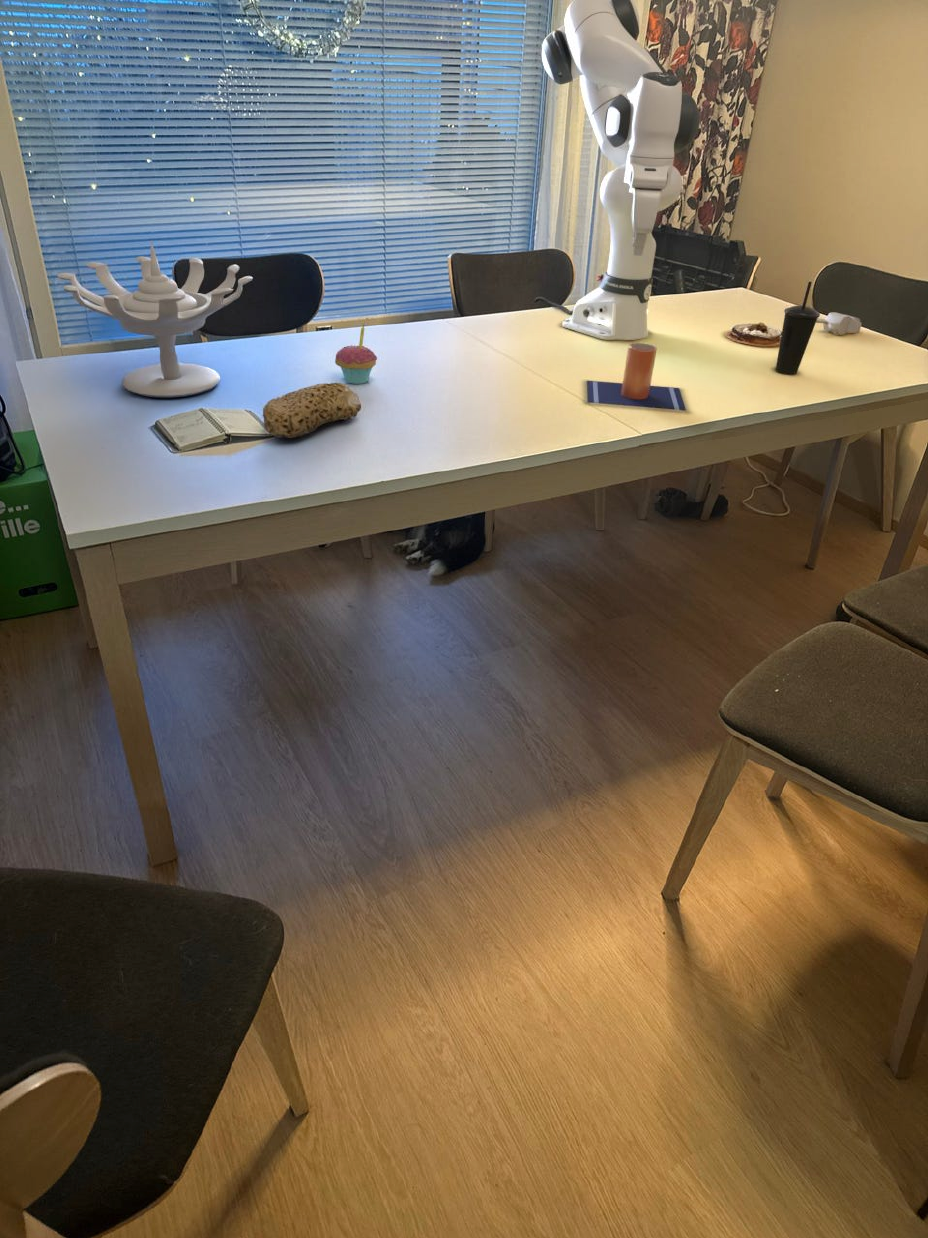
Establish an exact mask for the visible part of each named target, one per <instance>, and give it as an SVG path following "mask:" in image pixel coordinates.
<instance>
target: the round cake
mask: <svg viewBox="0 0 928 1238" xmlns="http://www.w3.org/2000/svg"><path fill="white" fill-rule="evenodd" d="M781 335H782V330H780V329H779V328H776V327H773V326H770V325H766V324H765V323H764V322H758V323H742V324H736V325H734V326H733V327H732V328H731V330H730V331H729V332H726V334H725V337H726V338H727V339H728V340H730V341H733V342H735V343H740V344H745V345H749V346H755V347H777V346H780V341H781Z"/></svg>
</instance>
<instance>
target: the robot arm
mask: <svg viewBox="0 0 928 1238" xmlns="http://www.w3.org/2000/svg"><path fill="white" fill-rule="evenodd" d="M639 35H640V16H639V11H638V9H637V7H636V5H635V4H634V2H633V1H632V0H572V1H571V3H570V4H569V6H568V7H567V10H566V12H565V16H564V24H562V25H561V26H560V27H559V28H557V29H553V30H552V31H551V32H550V33H549V34H548V35H547V36H546V37H545V38H544V40H543V41H542V44H541V60H542V64H543V68H544V70H545V72H546V73H547V75H548V77H550V78H551V79H552V80H553V82H554V83H555V84H557V85H565V84H568V83H571V82H573V81H574V80H575V79H577V78H579V84H580V90H581V96H582V100H583V103H584V107H585V111H586V113H587V117H588V119H589V122H590V125H591V128H592V130H593V133H594V135H595V138H596V142H597V144H598V146H599V148H600V151H601V152H602V154H603V156H604V157H605V158H606V159H608V160H609V161H610V162H611V163H612V164H613V166H615V169H613V170H611V171H609V172H608V173H607V174H606V175H605V176H604V178H603V180H602V182H601V184H600V188H599V197H600V202H601V205H602V207H603V208H604V210H605V211H606V213H607V217H608V222H609V231H610V243H609V244H610V245H609V254H608V262H607V271H606V272H604V273H602V274H600V275H598V276H596V278H597V279H596V282H599V284H598V286H597V287H596V288H595V289H592V291H590V292H588V293H587V294H585V295H584V296H583V297H579V300H577V302H576V303H575V305H574V307H573V309H572V310H569V309H568V308H567V307H565V306H563V305H561V304H558V303H555V302H553V301H550V300H548V299H547V298H546V297H543V296H538V297H535V298H534V300H533V302H536V303H537V302H538V301H542V302H544V303H545V304H547V305H549V306H551V307H554V308H557V309H560V310H562V311H564V312H565V313H566V314H568V315H571V316H570V317H567V318H565V319H564V320H563V321H562V325H561V326H562V327H563V328H566V329H569V330H572V331H574V332H578V333H581V334H584V335H588V336H589V337H590V336H591V337H593V338H597V339H600V340H604V341H613V340H619V341H620V340H621V341H624V340H625V341H633V340H634V341H635V340H642V339H645V338H647V337H649V329H648V313H649V309H648V307H649V301H650V298H651V293H652V288H653V287H652V285H653V276H652V274H653V268H654V262H655V257H656V252H657V251H656V250H657V242H656V240H655V237H654V236H653V230H654V227H655V224H656V219H657V214H658V213H659V212H662V211H664V210H665V209H668V208H669V207H670V206H672V205H673V204H674V203H675V202H677V201H678V199H679V197H680V195H681V192H682V188H683V179H682V175H681V173H680V171H679V170H678V168H677V167H675V166H674V161H675V154H679V153H682V151H683V150H685V149H686V148H688V146H689V145H691V143H692V142H693V141H694V140H695V138H696V137H697V135H698V132H699V129H700V124H701V114H700V109H699V107H698V104H697V102H696V100H695V99H694V97H693V96H692V95H691V94H690V93H687V92H685V91H683V85H682V80H681V79H680V78H679V77H678V76H676V75H674V74H671V73H668V71H667V70H666V69H665V68H664V66H663V65H662V64H661V62H660V61H659V60H658V59H657V58H656V56H655V55H654V54H653V53H652V52H650V51H649V50H648V49H647V48H645V47H644V46H643V45H642V44H641V43H639V42H638V38H639Z"/></svg>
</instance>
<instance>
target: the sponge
mask: <svg viewBox="0 0 928 1238" xmlns="http://www.w3.org/2000/svg"><path fill="white" fill-rule="evenodd" d="M361 409H362V403H361V400H360V397H359V396H358V394H357V393H355V392H354V391H353V390H352V389H351V388H349V387H348V386H347V384H344V383H341V382H330V383H324V382H323V383H318V384H317V383H316V384H314V385H310V386H307V387H303V388H299V389H297V390H293V391H291V392H288V393H286V394H284V395H281V397H280V396H277V397H275V398H271V399H270V400H269V401H267V403H266V404H265V405H264V406H263V408H262V417H263V426H264V428H265V430H266V431H267V432H268V434H270V435H272V436H275V437H278V438H285V439H294V438H299V437H303V436H304V435H307V434H309V433H312V432H314V431H315V430H316V429H317V428H319V427H320V426H321V425H324V424H329V422H335V421H340V420H350V419H352V418H353V417H355V418H356V416H357V415H358V413H360V411H361Z"/></svg>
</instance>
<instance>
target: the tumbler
mask: <svg viewBox="0 0 928 1238" xmlns="http://www.w3.org/2000/svg"><path fill="white" fill-rule="evenodd" d="M626 351H627V352H626V356H625V357H626V358H625V365H624V370H623V378H622V389H621V395H622V396H624V397H626V398H630V399H637V400H640V399H646V398H648V396H649V391H650V386H652V380H653V373H654V367H655V362H656V357H657V351H658V349H657V347H656V346H655V345H653V344H649V343H645V342H644V343H643V342H632V343H629V344H628V345H627V350H626Z"/></svg>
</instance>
